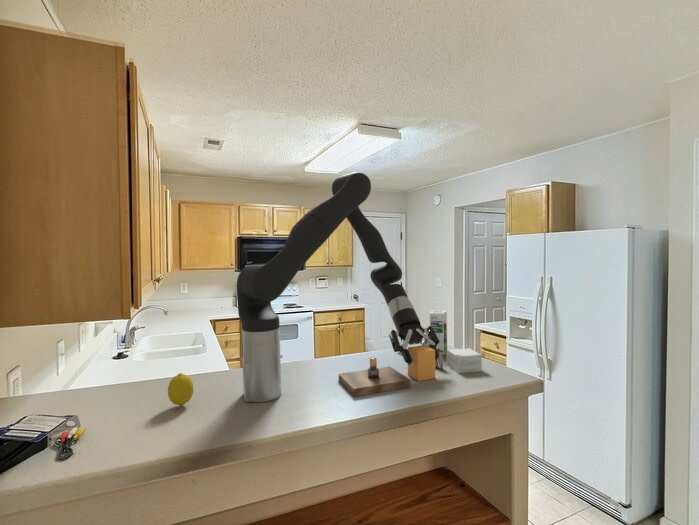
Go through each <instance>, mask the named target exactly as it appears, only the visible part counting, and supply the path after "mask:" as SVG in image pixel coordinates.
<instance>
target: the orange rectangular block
mask: <svg viewBox="0 0 699 525" xmlns="http://www.w3.org/2000/svg"><path fill="white" fill-rule="evenodd" d="M407 349H408V351H409V353H410V355H411V358H412V363H411V364H407V375H408V376H410V378H413V379H415V381H417V382H420V381H425V380H426V381H427V380H431V379H433V380H434V379H436V367H435V350H434V349H432V348H430V347H427V346H425V345H416V346H407Z"/></svg>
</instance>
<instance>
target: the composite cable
mask: <svg viewBox="0 0 699 525" xmlns="http://www.w3.org/2000/svg"><path fill="white" fill-rule="evenodd" d="M86 429H87V427H84V428H83V427H82V428H80V429H79V426H78V425H77V426H75V427H73V428H72V429H70V431H69V432H68V430H67V429H65V430H64V431H62V433H61V436H60V437H57V438H55V440H54V443H55V444H56V445H58V446H59V447H60V448H61V449H60V448H59V447H58V448H59V451H58V453H57V456H56V457H57V460H59V461H65V459H66V460H68V458H69V459H71V458H72V457H73V456H72V455H74V451H73V450H74V449H73V448H72V447H69V446H70V445H72V443H73V442H74V441H75V439H76V438H77V439H79V438H80V437H81V436H83V434H85V433H86ZM58 439H60V440H61V443H60V442H57V440H58ZM75 442H76V441H75ZM75 442H74V443H75ZM72 446H73V445H72ZM64 450H65V451H64ZM63 451H64V452H66V453H67V452H68V453H69V454H68V453H67V454H66V455H63V453H64V452H63ZM71 456H72V457H71ZM70 457H71V458H70Z"/></svg>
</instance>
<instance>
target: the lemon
mask: <svg viewBox="0 0 699 525" xmlns="http://www.w3.org/2000/svg"><path fill="white" fill-rule="evenodd" d="M193 395H194V382H193V381H192V378H191V377H190V376H188V375H187V374H184V373H181V372H180V373H178V374H177V375H175V376H174V377H173V378H172V379H170V382H169V383H168V389H167V396H168V398H169V401H170V402H171V403H172V404H174V405H176V406H177V405H178V407H183V406H184V405H185V404H187V403H188V402H189V401H190V400H191V399H192V397H193Z"/></svg>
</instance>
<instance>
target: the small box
mask: <svg viewBox="0 0 699 525" xmlns="http://www.w3.org/2000/svg"><path fill="white" fill-rule="evenodd" d="M482 357H483V355H482V354H481V353H479V352H477V351H475V350H473V349H471V348H470V347H467V348H456V349H453V348H452V349H447V355H446V366H447V367H449V368H450V369H452V370H453V371H454V372H456V373H457V374H461V373H474V372H482V371H483V369H482V368H483V366H482V364H483V362H482V360H483V359H482Z"/></svg>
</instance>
